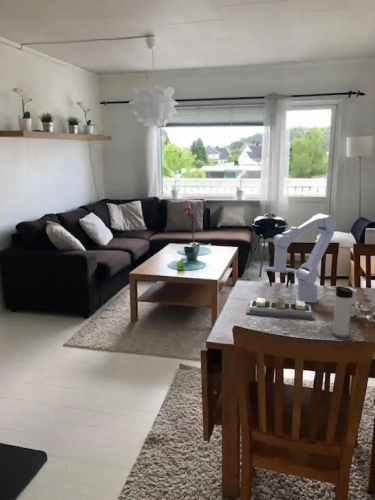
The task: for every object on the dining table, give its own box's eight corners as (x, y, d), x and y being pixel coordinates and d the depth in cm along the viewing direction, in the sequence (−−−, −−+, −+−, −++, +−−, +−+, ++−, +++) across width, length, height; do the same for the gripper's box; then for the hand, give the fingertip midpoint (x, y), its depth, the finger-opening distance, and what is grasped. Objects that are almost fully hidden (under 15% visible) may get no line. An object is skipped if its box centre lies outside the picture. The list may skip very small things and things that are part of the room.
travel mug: (328, 331, 170) (332, 285, 166) (344, 331, 171) (348, 284, 166) (335, 338, 164) (339, 290, 160) (351, 337, 165) (356, 289, 160)
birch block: (284, 307, 194) (284, 297, 193) (284, 312, 188) (285, 302, 187) (275, 307, 195) (276, 297, 194) (275, 311, 189) (276, 301, 188)
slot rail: (312, 309, 194) (313, 299, 193) (314, 320, 182) (315, 309, 181) (248, 304, 201) (248, 294, 200) (246, 314, 189) (246, 303, 187)
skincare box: (340, 315, 188) (342, 290, 185) (339, 311, 192) (341, 287, 189) (354, 317, 186) (357, 291, 183) (353, 313, 190) (356, 288, 187)
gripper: (264, 260, 196) (263, 288, 199) (296, 262, 193) (294, 290, 196) (265, 257, 203) (264, 283, 206) (295, 258, 200) (294, 285, 203)
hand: (278, 286), depth 201 cm, fingers open, 7 cm apart
